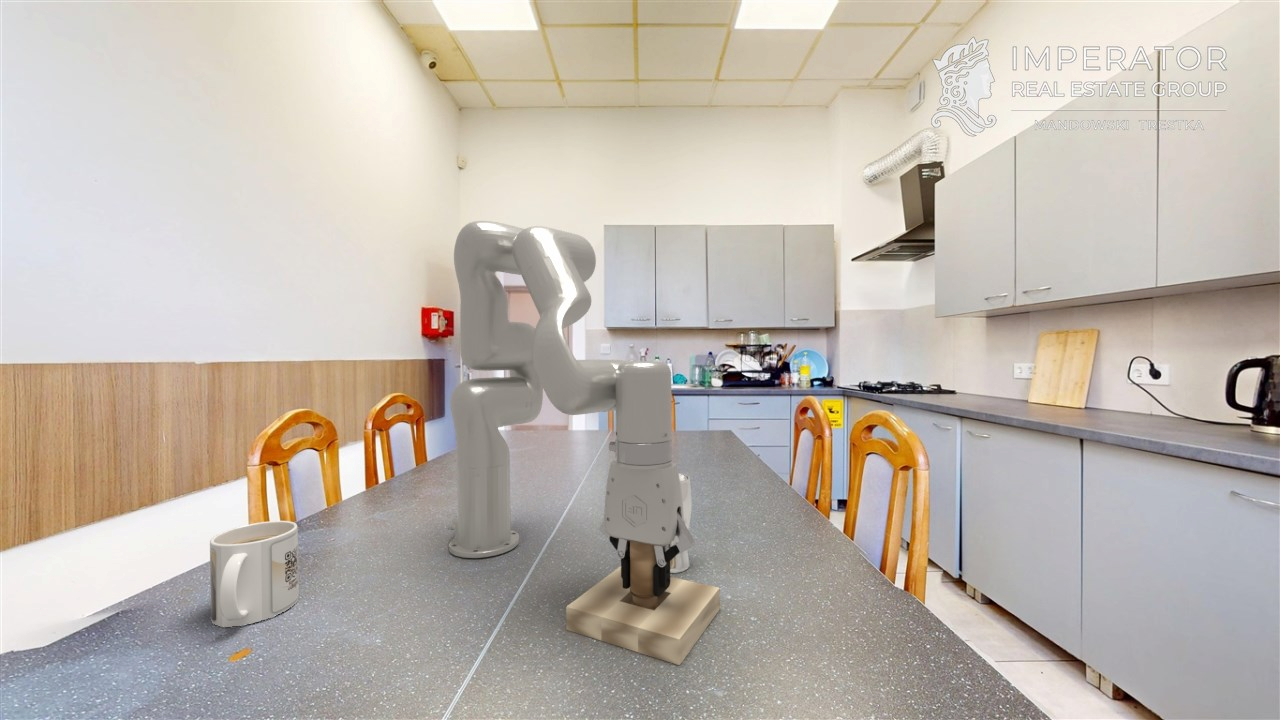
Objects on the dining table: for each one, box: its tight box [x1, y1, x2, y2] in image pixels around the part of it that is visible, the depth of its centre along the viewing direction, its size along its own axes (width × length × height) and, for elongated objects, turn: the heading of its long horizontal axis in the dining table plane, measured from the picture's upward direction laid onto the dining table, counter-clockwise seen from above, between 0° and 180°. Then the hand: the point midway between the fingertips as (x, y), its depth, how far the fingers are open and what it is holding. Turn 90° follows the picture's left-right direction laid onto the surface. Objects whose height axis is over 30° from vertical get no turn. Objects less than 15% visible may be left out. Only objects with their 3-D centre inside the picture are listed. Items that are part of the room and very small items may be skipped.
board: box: [565, 565, 721, 666], centre depth 66 cm, size 16×14×3 cm
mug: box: [209, 520, 300, 628], centre depth 68 cm, size 10×12×11 cm
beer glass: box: [670, 472, 692, 574], centre depth 83 cm, size 7×7×15 cm
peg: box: [630, 541, 658, 610], centre depth 66 cm, size 4×4×12 cm
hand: (645, 587), depth 66 cm, fingers closed on peg, 4 cm apart
